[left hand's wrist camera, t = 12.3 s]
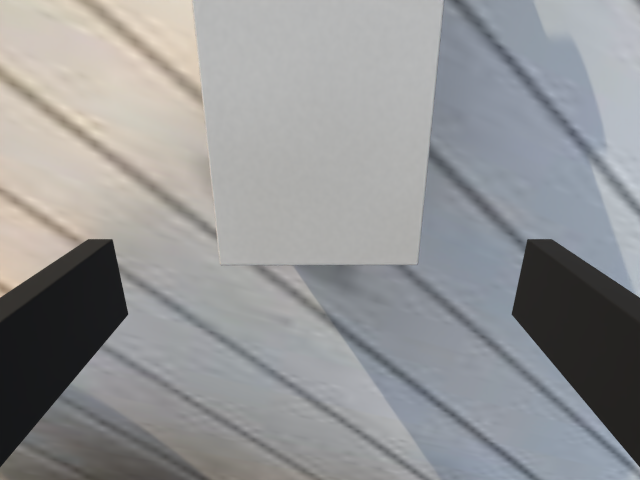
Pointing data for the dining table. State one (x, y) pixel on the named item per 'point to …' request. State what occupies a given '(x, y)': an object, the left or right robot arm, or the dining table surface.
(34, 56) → the dining table surface
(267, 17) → the grey rectangular block
